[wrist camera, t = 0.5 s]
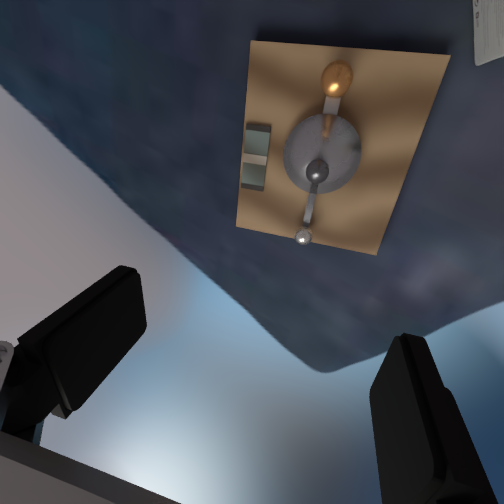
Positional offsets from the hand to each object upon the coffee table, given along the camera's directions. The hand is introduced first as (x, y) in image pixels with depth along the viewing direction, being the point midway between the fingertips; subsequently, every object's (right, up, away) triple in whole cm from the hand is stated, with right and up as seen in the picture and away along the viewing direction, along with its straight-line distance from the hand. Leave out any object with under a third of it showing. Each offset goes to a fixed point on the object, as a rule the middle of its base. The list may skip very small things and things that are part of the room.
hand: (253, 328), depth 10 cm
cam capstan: (+7, +12, +20) cm, 25 cm away
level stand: (+8, +14, +21) cm, 26 cm away
